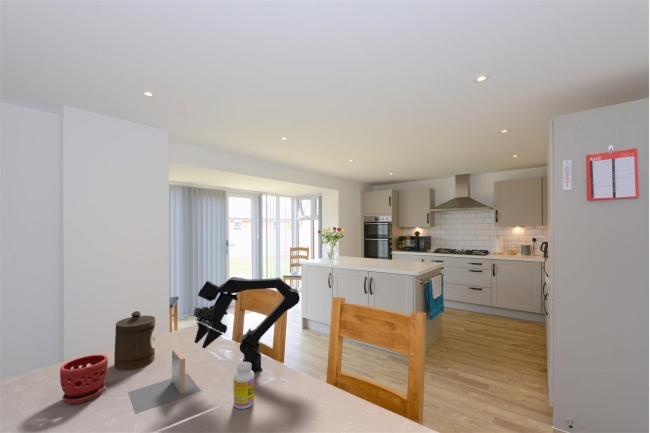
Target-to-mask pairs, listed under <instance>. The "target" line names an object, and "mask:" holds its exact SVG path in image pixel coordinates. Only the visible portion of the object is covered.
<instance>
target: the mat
mask: <svg viewBox="0 0 650 433" xmlns="http://www.w3.org/2000/svg"><path fill="white" fill-rule="evenodd" d="M198 392H202V390H201V389H200V387H199V386H198V385H197V383H196V382H195V381H194V379H193V378H192V377H191V376H190V374H189V373H185V393H182V394H180V393H179V391H178V390H177V388H176V387H175V385H174V384H173V382H172V377H171V378H168V379H166V380H163V381H159V382H156V383H152V384H149V385H145V386H143V387H139V388H136V389H133V390H131V391H128V396H129V398H130V402H131V405H132V408H133V411H134V414H135V415H137V414H139V413H142V412H146V411H148V410H150V409H153V408H157V407H159V406H162V405H165V404H168V403H170V402H173V401H176V400H178V399H181V398H185V397H188V396H190V395H194V394H196V393H198Z"/></svg>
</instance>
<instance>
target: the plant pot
mask: <svg viewBox="0 0 650 433" xmlns="http://www.w3.org/2000/svg"><path fill="white" fill-rule="evenodd" d="M108 364H109V357H108V356H107V355H105V354H91V355H87V356H82V357H78V358H75V359H71V360H70V361H68V362H66V363H64V364H62V365H61V366H60V369H59V378H60V379H59V381H60V382H59V383H60V387H61V389H62V391H63V395H62V401H63V402H65V403H68V404H80V403H83V402H87V401H90V400H91V399H93V398H96V397H97V396H99V395H101V393H102V392H103V391H104V390H105V388H106V384H105V383H104V382H105V380H106V377H107V372H108V367H109V365H108ZM87 365H89V366H87ZM80 366H81V367H80Z"/></svg>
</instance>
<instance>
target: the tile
mask: <svg viewBox="0 0 650 433" xmlns="http://www.w3.org/2000/svg"><path fill="white" fill-rule="evenodd" d="M185 374H186V357H185V356H184V355H183V354H182V353H181V351H180V350H179V349H178V348H176V347H175V348H173V349H172V350H171V378H172V382H173V384H174V385H175V387H176V388H177V390H178V391H179V393H180V394H182V393H185Z"/></svg>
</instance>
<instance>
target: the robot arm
mask: <svg viewBox="0 0 650 433" xmlns="http://www.w3.org/2000/svg"><path fill="white" fill-rule="evenodd" d="M265 289H266V290H268V289H276V291H278V292H279V294H281V295H282V298H281V299H280V302H279V304H277V305H276V306H275V307H274V308H273V310H271V312H270V313H269V314H268V315H267V316H266V317H265V318H264V319H263V320H262V321H261V322H260V323H259V324H258V326H256V328H253V329H251V328H249V329H247V332H245V333H244V334H243V335H242V337H241V340H240V344H239V351H240V352H241V353H242V354H243V358H242V362H250V363H251V364H252V368H251V370H252V371H253V372H254V374H255V373H258V372H259V373H260V372H262V371H263V368H262V353H261V352H260V350H261V344H260V343H259V342H260V340H261V338H262V337H263V336H264V335H265V334H266V333H267V331H269V330H270V329H271V328H272V326H273V325H275V323H276V322H277V321H278V320H279V319H280V318H281V317H282V315H284V314H285V312H288V311H289V310H291V309H292V308H294V307H295V306H296V305H298V303H299V302H300V299H301V298H300V292H299V290H297V289H296V288H294V287H293V288H292V287H291V286H290V285H289V284H288V283H286V282H285V281H284V280H283V278H282V277H281V278H280V277H275V278H253V279H251V278H250V279H248V278H245V277H244V278H243V277H236V276H231V277H229V278H228V280H226V282H225V283H223V284H220V285H217V284H214V283H213V282H211V281H209V280H206V281H205V283H204V285H203V286H202V288H200V290H199V292H198V294H197V296H198V297H199V298H202V299H203V300H206V301H208V302H210V303H211V302H212V301H214V304H213V305H210V306H202V307H194V309H193V317H195V318H196V325H197V332H196V335H195V338H194V343H195V344H198V343H199V342H200V341H201V340H202V339H203V338H204V336H205V339H204V341H203V344H202V346H201V348H202V349H206V348H208V346H209V345H211V344H212V343H213V342H214V341H216V340H217V339H218V338H219V337H221V336H223V334H226V333H227V330H228V326H227V324H224V323H223V321H222V320H223V318H224V317H225V316H228V309H229V307H230V306H231V304H232V302H233V301H235V302H238V301H239V299H238V294H237V293H241V292H244V291H247V290H250V291H251V290H265Z"/></svg>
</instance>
